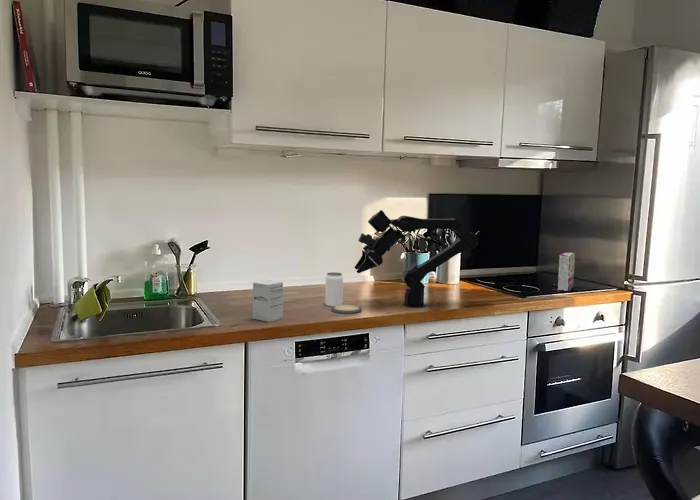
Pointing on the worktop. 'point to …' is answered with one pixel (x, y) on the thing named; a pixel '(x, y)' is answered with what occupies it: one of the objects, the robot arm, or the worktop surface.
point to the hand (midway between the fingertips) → (356, 270)
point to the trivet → (346, 309)
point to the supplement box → (267, 300)
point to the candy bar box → (566, 271)
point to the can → (334, 289)
